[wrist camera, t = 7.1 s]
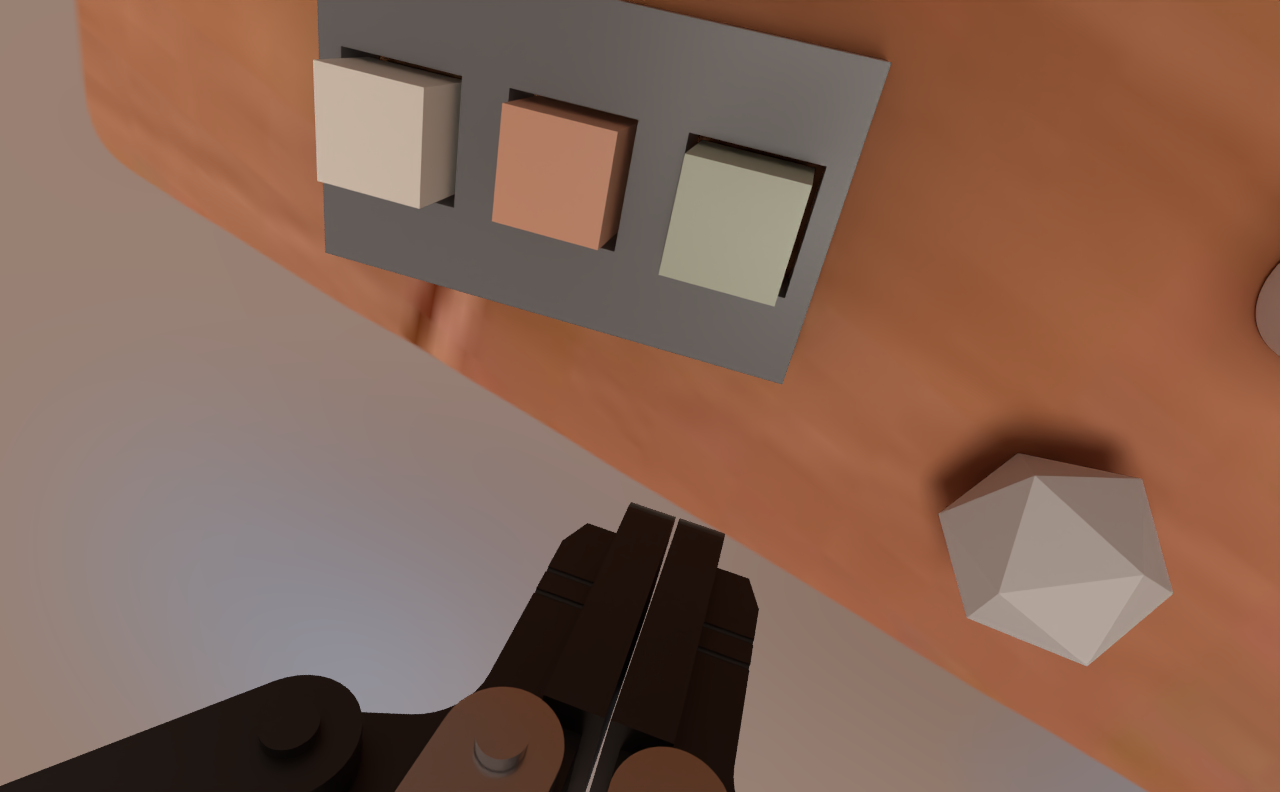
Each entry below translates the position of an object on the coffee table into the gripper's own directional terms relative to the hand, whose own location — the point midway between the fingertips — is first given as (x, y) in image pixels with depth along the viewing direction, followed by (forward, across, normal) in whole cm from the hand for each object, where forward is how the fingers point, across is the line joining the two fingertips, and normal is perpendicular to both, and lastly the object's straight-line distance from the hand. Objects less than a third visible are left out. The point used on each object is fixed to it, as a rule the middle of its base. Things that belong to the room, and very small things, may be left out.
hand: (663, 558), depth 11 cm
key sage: (+24, +2, +1) cm, 24 cm away
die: (+25, -16, +11) cm, 32 cm away
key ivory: (+23, +18, +1) cm, 29 cm away
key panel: (+25, +10, +1) cm, 27 cm away
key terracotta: (+24, +10, +1) cm, 26 cm away
